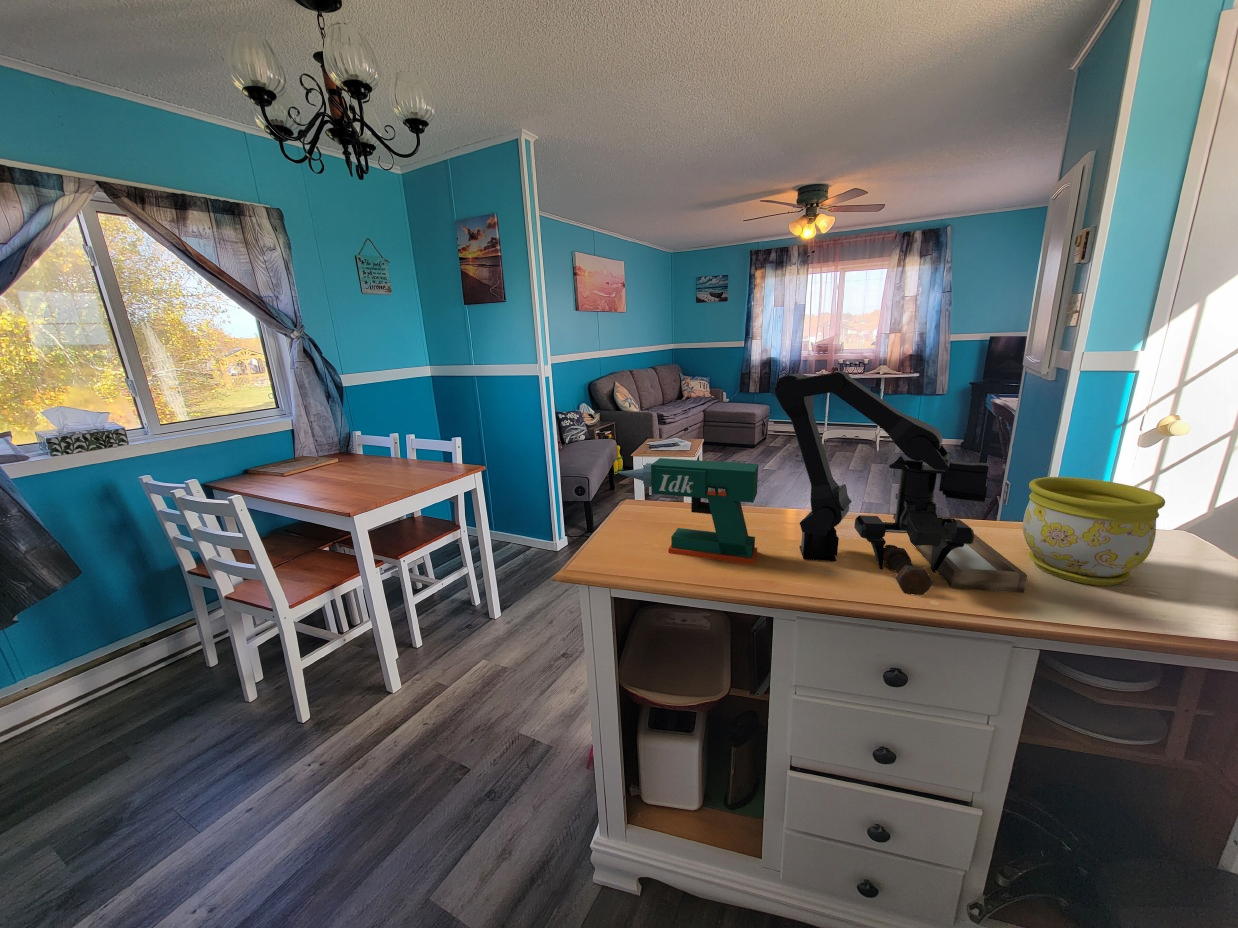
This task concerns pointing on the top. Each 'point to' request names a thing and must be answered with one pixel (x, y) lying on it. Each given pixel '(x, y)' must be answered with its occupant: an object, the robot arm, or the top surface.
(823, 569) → the top surface
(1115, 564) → the flowerpot
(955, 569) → the wooden tray
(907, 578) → the bolt
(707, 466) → the power tool
